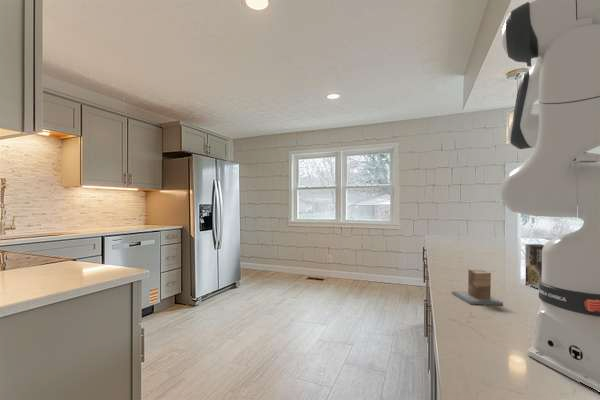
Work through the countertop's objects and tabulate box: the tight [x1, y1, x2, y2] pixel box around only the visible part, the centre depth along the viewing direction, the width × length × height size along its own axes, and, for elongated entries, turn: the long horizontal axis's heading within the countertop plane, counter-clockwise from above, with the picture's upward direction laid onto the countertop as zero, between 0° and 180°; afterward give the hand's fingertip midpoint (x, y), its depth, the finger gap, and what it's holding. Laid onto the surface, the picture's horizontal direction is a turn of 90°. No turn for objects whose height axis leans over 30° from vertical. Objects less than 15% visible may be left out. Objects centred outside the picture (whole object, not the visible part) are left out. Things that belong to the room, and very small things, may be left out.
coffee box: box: [524, 243, 545, 289], centre depth 111 cm, size 9×6×16 cm
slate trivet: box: [451, 290, 504, 306], centre depth 96 cm, size 11×10×1 cm
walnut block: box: [467, 269, 492, 299], centre depth 96 cm, size 5×5×8 cm
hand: (563, 205), depth 90 cm, fingers open, 8 cm apart
